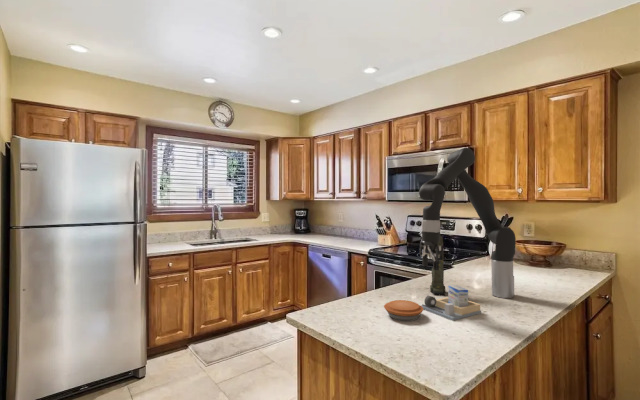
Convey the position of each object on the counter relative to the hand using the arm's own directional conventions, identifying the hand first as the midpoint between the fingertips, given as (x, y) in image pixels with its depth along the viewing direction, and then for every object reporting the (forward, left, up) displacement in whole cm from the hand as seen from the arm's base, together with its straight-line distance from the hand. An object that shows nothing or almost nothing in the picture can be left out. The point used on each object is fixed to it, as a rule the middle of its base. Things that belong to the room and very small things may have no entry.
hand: (430, 268), depth 141 cm
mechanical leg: (-22, -16, -18) cm, 32 cm away
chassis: (-5, +6, -17) cm, 19 cm away
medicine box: (-8, +8, -17) cm, 20 cm away
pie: (+16, +1, -18) cm, 24 cm away
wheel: (+1, +1, -16) cm, 16 cm away
